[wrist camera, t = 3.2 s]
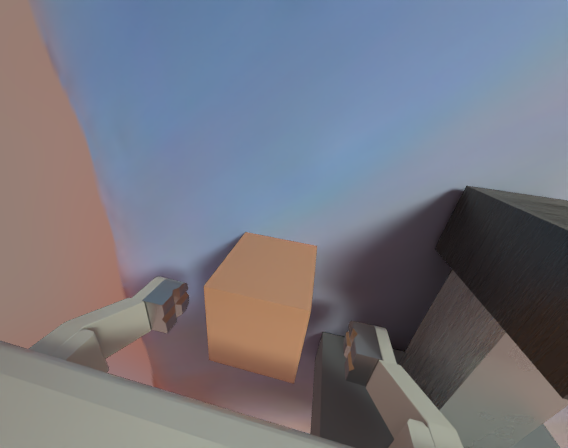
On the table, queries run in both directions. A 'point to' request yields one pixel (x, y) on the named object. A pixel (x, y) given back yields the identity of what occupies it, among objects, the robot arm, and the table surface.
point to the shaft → (497, 319)
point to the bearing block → (364, 405)
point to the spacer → (261, 305)
